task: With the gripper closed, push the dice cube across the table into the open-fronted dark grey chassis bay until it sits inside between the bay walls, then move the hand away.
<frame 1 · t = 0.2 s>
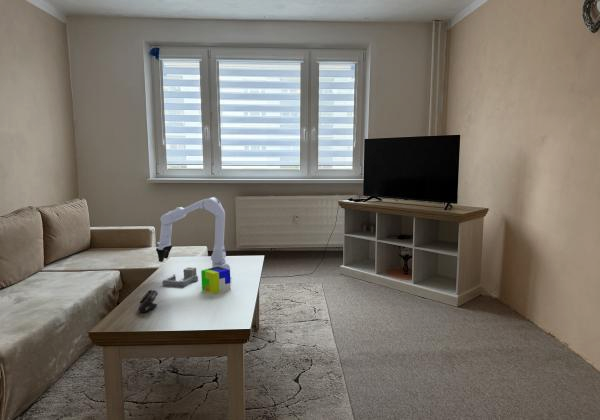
hand: (163, 259, 226), 10 cm above the table, tool pointing down, fingers open, 7 cm apart
chassis bay: (178, 283, 217), on the table
puzzle toy: (216, 290, 207), on the table
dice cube: (190, 277, 229), on the table
battery: (148, 309, 180), on the table
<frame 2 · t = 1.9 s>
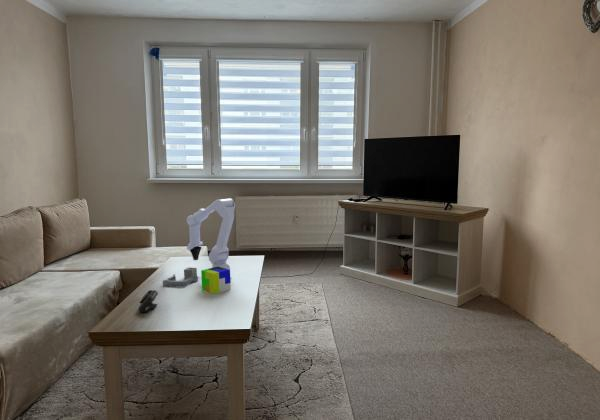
hand: (195, 259, 235), 8 cm above the table, tool pointing down, fingers closed
nothing on the table moved.
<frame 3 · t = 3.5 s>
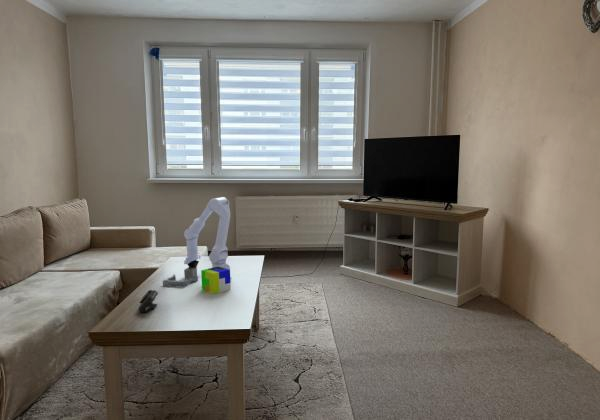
hand: (193, 273, 232), 1 cm above the table, tool pointing down, fingers closed
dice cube: (191, 277, 229), on the table, touching gripper
everything else where it was.
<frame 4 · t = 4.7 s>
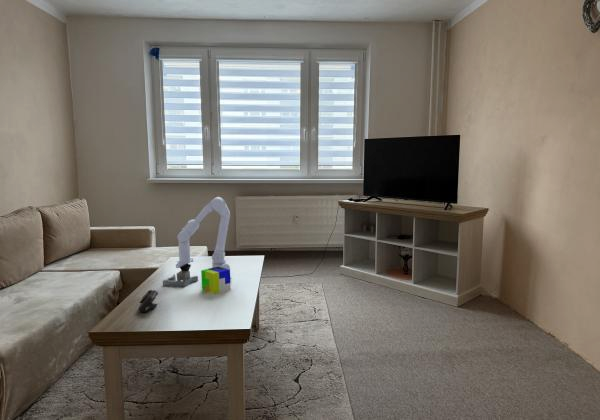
hand: (185, 277, 224), 1 cm above the table, tool pointing down, fingers closed, pressing on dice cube
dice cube: (183, 281, 221), on the table, touching gripper
everything else where it was.
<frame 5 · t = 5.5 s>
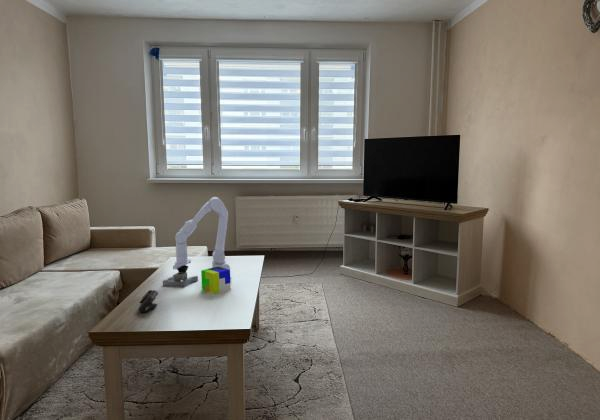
hand: (182, 279, 221), 1 cm above the table, tool pointing down, fingers closed, pressing on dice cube
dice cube: (181, 283, 218), on the table, touching gripper
everything else where it was.
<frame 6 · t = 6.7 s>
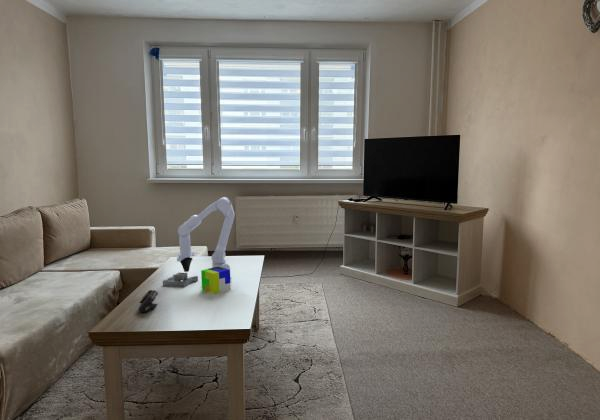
hand: (186, 271, 225), 4 cm above the table, tool pointing down, fingers closed
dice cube: (181, 283, 218), on the table
everything else where it was.
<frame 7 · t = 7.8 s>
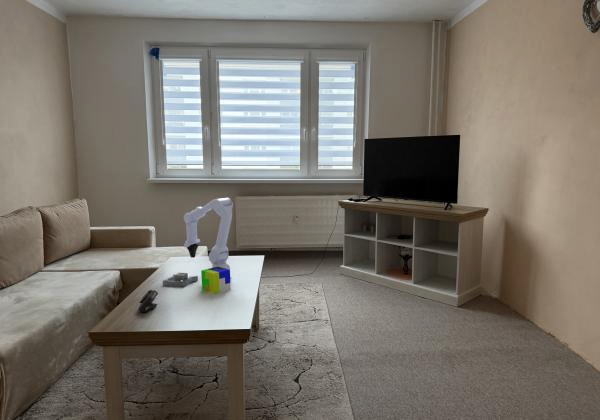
hand: (192, 257, 236), 9 cm above the table, tool pointing down, fingers closed
nothing on the table moved.
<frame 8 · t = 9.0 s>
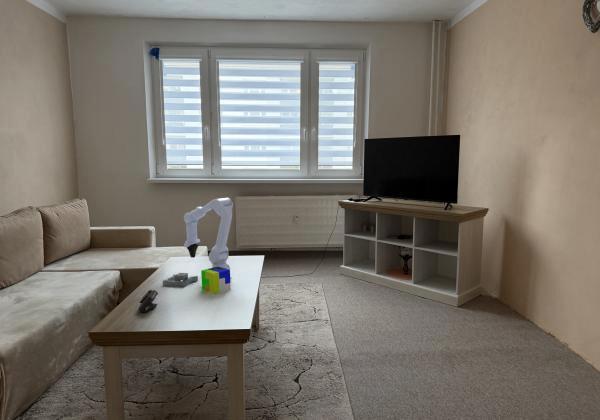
hand: (192, 257, 236), 9 cm above the table, tool pointing down, fingers closed
nothing on the table moved.
at the end: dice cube 1.5 cm off-centre on the chassis bay, point 0.0 cm above the chassis bay's base; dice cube tilted 0°; the gripper is holding nothing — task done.
